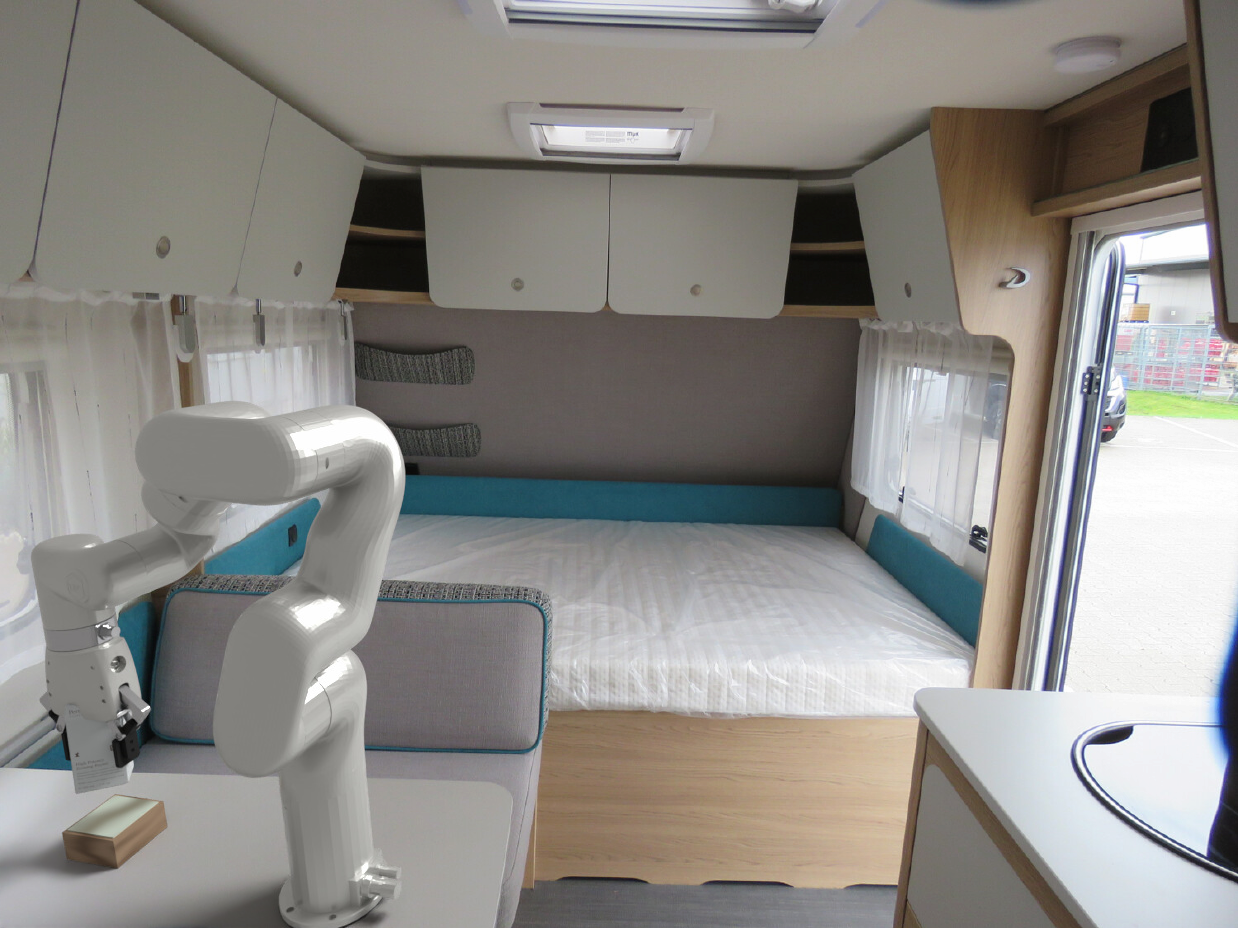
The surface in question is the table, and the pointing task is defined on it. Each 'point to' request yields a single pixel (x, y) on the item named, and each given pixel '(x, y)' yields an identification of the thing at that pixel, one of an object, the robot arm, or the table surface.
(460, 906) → the table surface
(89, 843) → the brown square block
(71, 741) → the skincare box
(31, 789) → the table surface
